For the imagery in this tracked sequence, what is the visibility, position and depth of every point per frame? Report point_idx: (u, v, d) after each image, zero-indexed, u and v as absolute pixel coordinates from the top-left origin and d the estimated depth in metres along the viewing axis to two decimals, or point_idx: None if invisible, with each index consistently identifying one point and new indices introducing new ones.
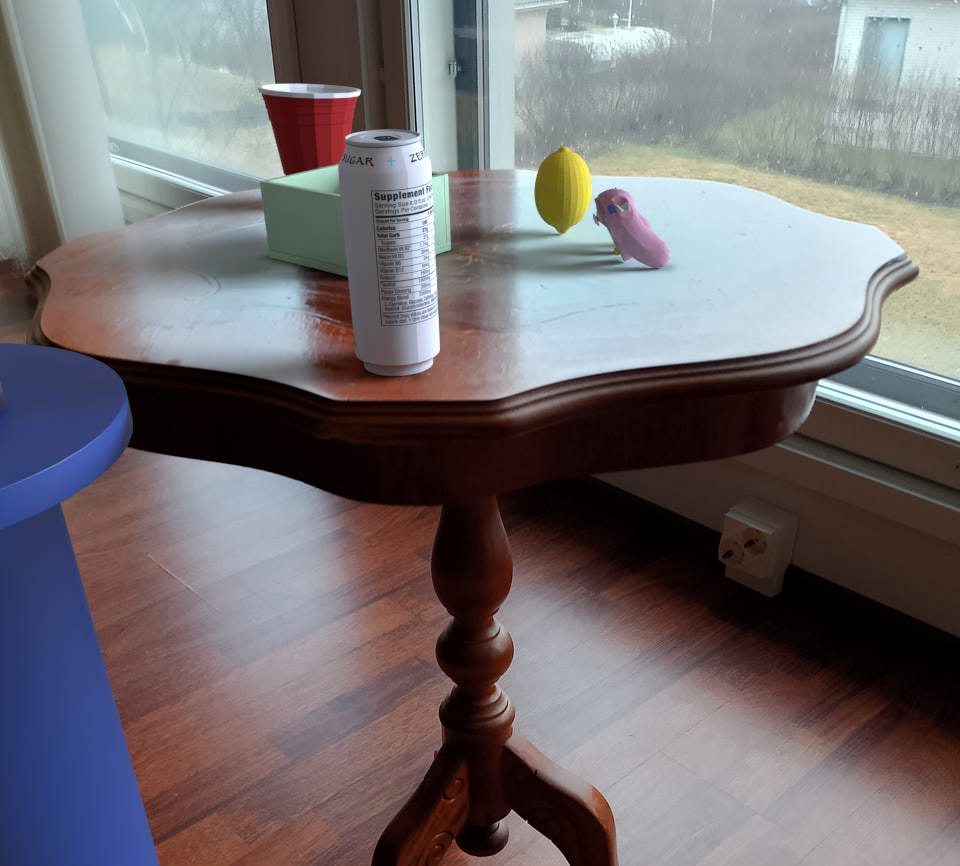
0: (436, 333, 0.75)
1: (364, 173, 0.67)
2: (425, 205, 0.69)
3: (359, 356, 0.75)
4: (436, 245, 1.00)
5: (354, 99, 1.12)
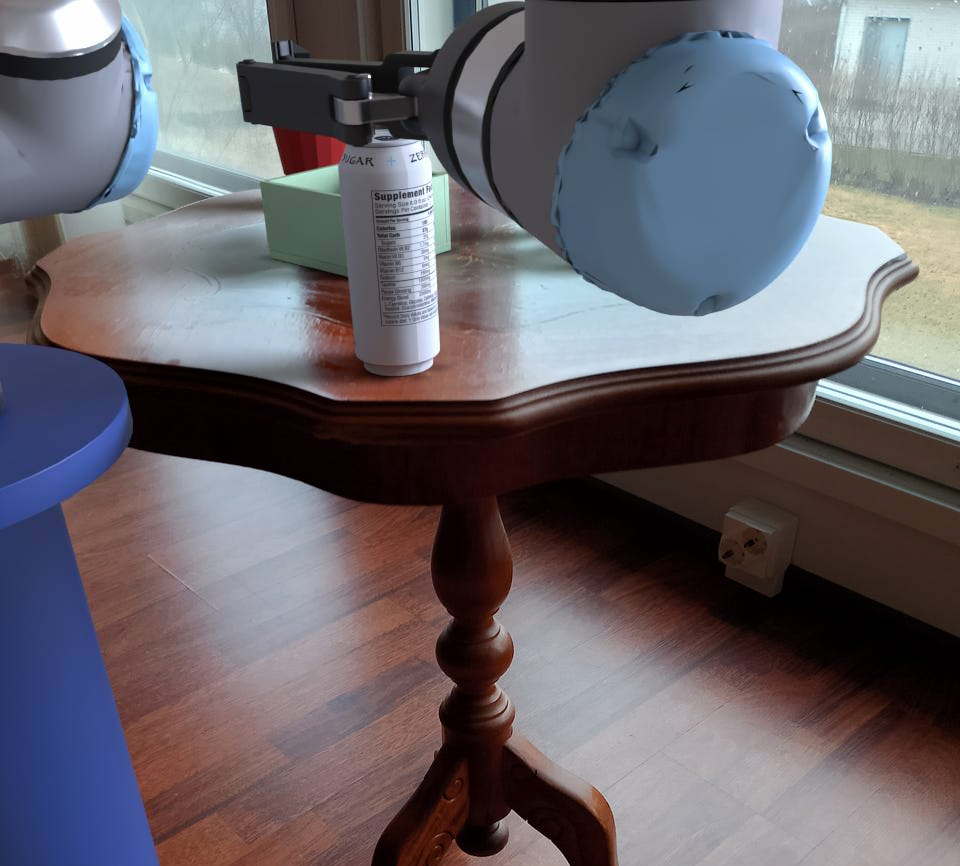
0: (436, 333, 0.75)
1: (364, 173, 0.67)
2: (425, 205, 0.69)
3: (359, 356, 0.75)
4: (436, 245, 1.00)
5: None
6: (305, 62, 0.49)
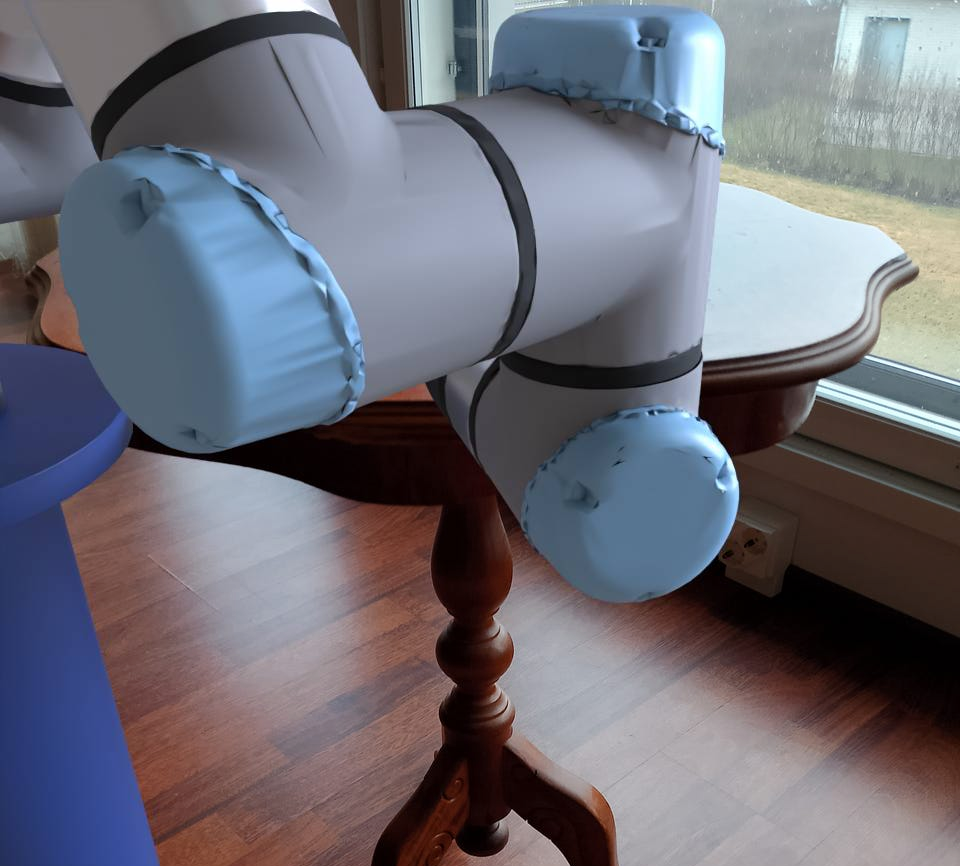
0: None
1: None
2: None
3: None
4: None
5: None
6: None
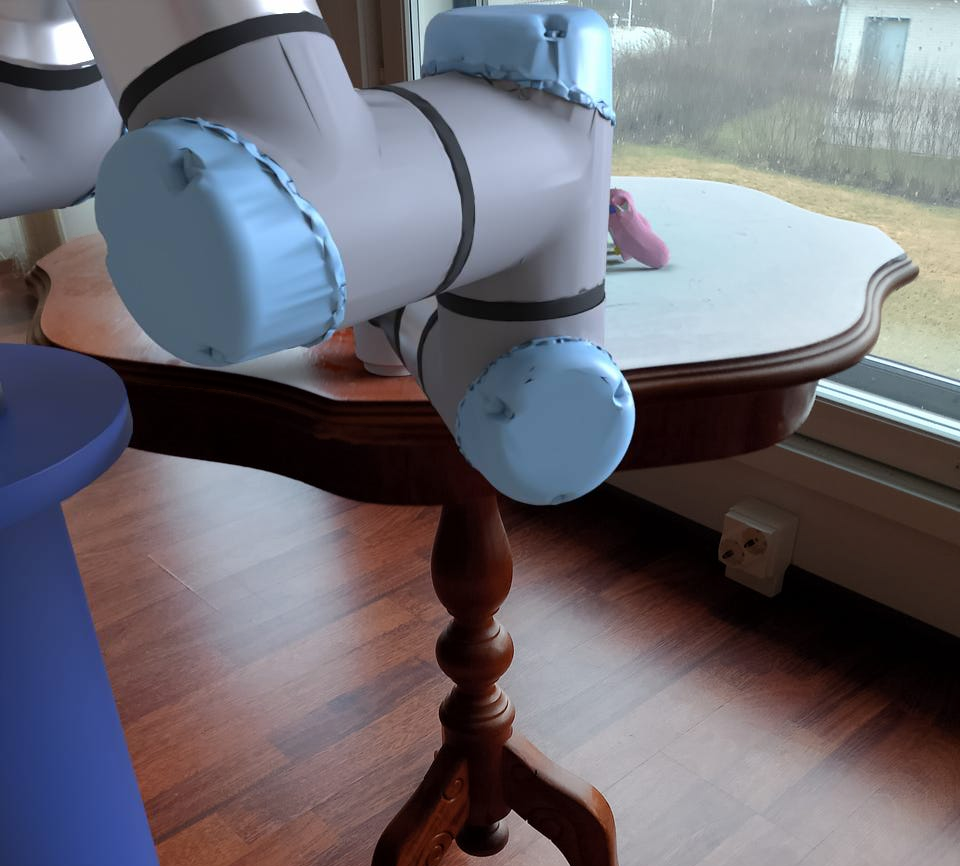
0: None
1: None
2: None
3: (359, 356, 0.75)
4: None
5: None
6: None
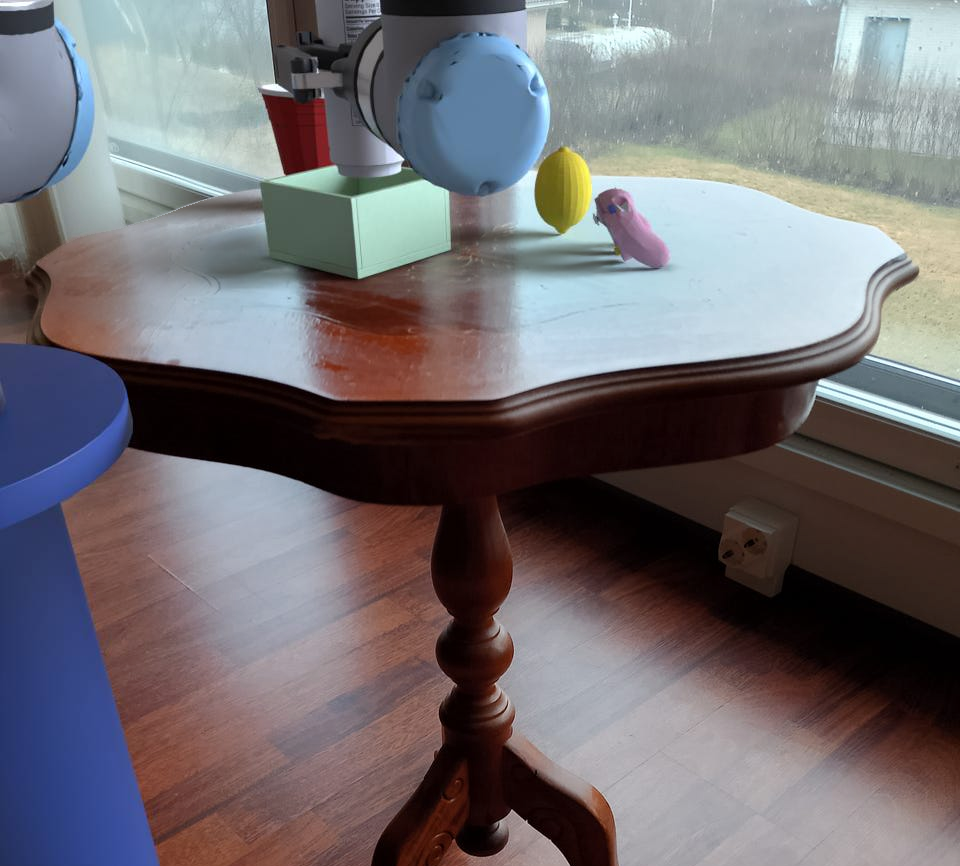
0: None
1: None
2: None
3: (333, 160, 0.82)
4: (436, 245, 1.00)
5: None
6: (309, 46, 0.75)
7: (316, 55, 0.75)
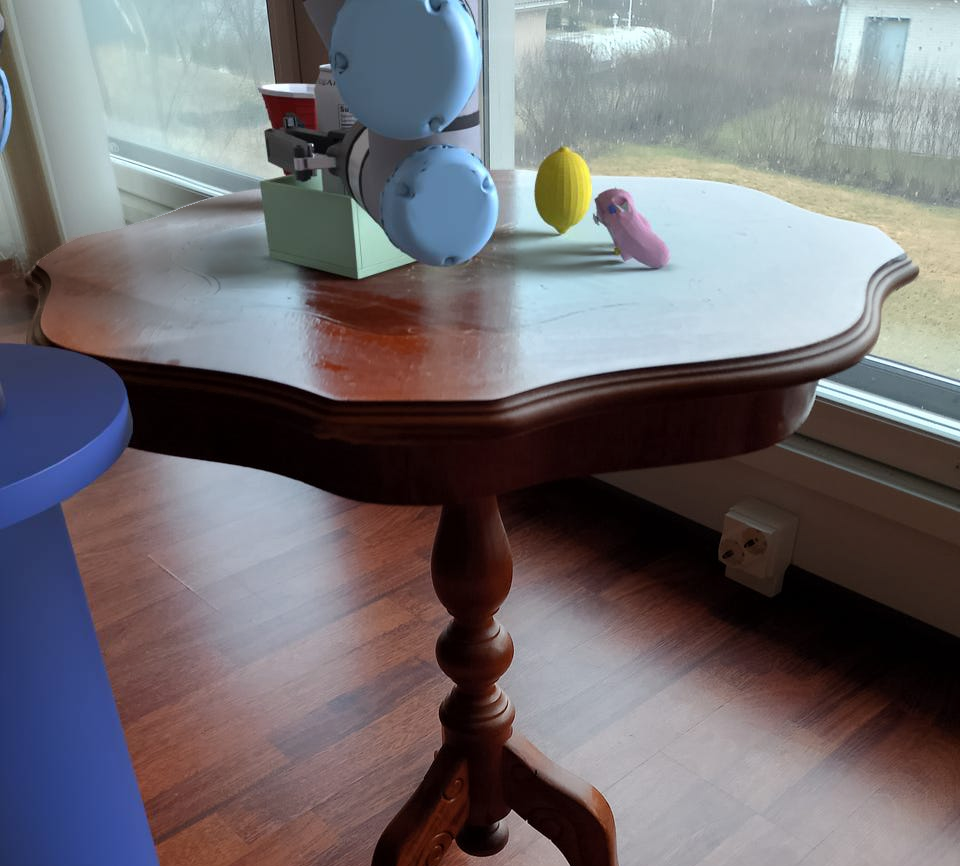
0: None
1: (332, 91, 0.91)
2: None
3: None
4: None
5: None
6: (296, 131, 0.90)
7: (304, 138, 0.90)
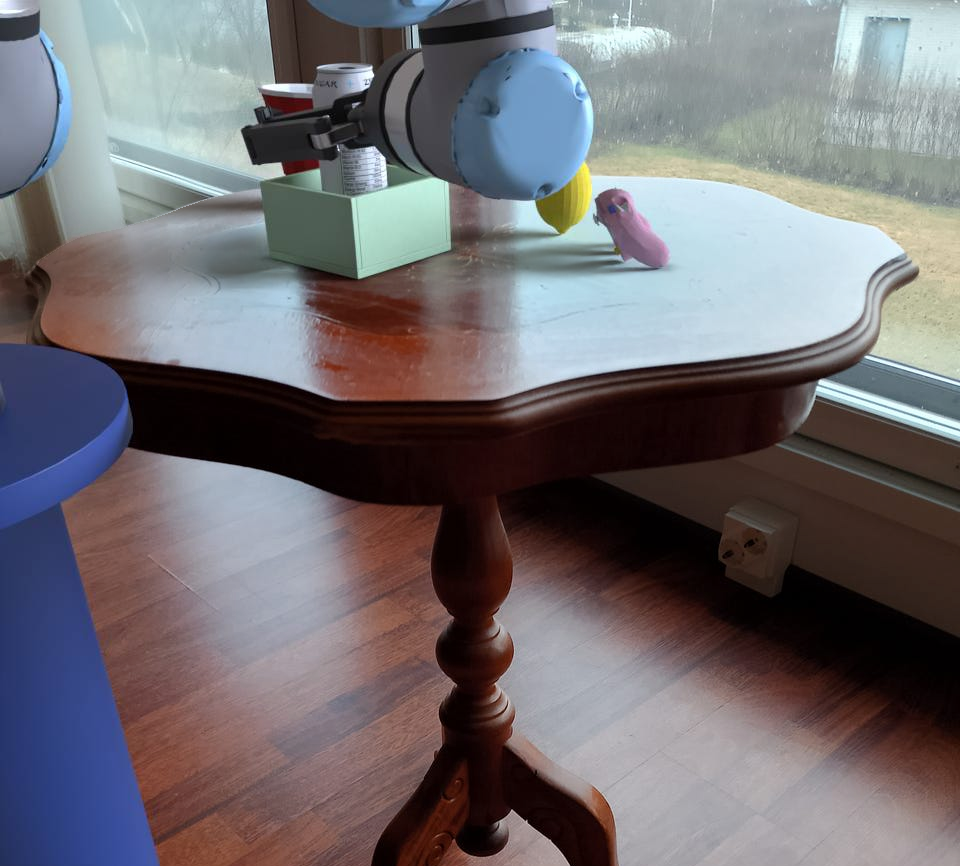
0: None
1: (330, 93, 0.91)
2: None
3: None
4: (436, 245, 1.00)
5: None
6: (283, 118, 0.77)
7: None
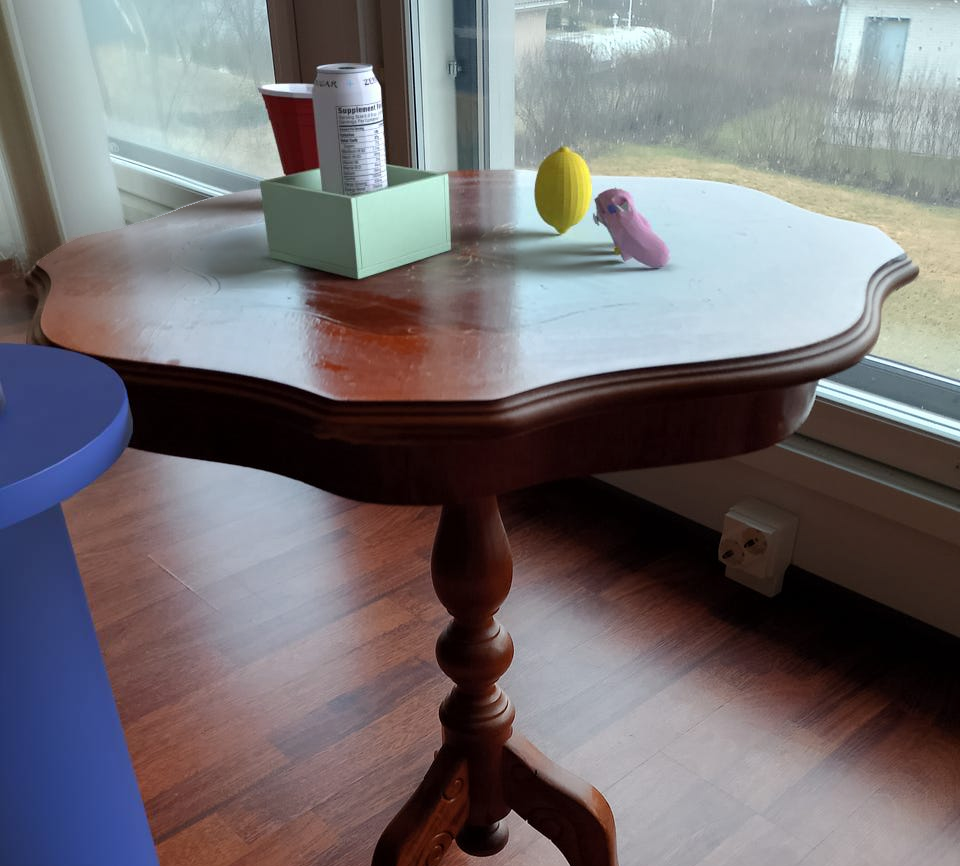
0: None
1: (330, 93, 0.91)
2: (376, 118, 0.94)
3: None
4: (436, 245, 1.00)
5: None
6: None
7: None
